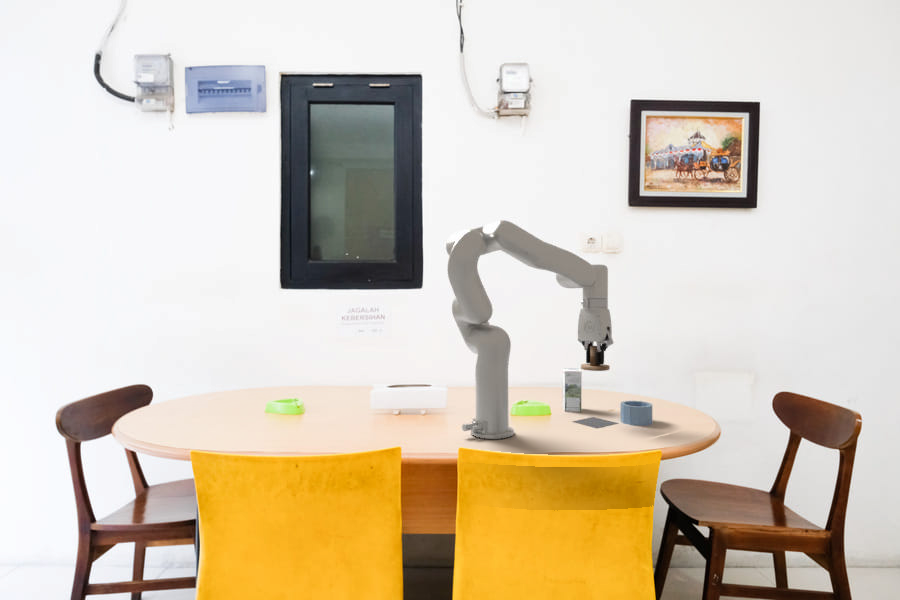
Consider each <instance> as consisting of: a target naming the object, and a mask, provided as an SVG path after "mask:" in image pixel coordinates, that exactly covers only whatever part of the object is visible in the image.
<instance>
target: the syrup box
mask: <svg viewBox="0 0 900 600" xmlns="http://www.w3.org/2000/svg"><path fill="white" fill-rule="evenodd" d="M581 370H582V369H581V368H572V367H571V368H567V367H566V368H565V367H564V368H562V409H563V411H564V412H565V413H569V412H571V413H581V412H582V371H581Z"/></svg>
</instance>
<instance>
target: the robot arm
mask: <svg viewBox="0 0 900 600" xmlns="http://www.w3.org/2000/svg"><path fill="white" fill-rule="evenodd" d="M445 250H446V252H447V255H448V257H449V258H448V262H447V277H448V280H449V283H450V286H451V289H452V291H453V294H454V296H455V298H454V299H453V300H452V304H451V311H452V317H453V319H454V320H455V323H456V326H457V328H458V330H459V332H460V335H461V336H462V338H463V341H464V343H465V345H466V347H467V348H468V349H469V350H470V352H471V353H473V354H475V355H477V358H476V363H475V374H474V375H475V379H474V380H475V418H472V421H471V422H470V423H465V424H464V423H463V424H462V426H461V428H462V431H463V432H467V431H470V435H471V436H473V435H474V436H473V437H475V436H476V438H479V437H480V438H479V439H484V438H485V439H486V440H500V439H501V438H502V439H507V437H508V438H510V436H511V437H512V436H514V434H515V429H514V428H513V427H511V426H509V424H510V423H509V362H510V355H511V349H512V345H511V339H510V336H509V334H508V332H507V331H506V330H505V329H504V328H502V327H501V326H498V325H493V324H490V322H489V321H490V319H492V315H493V311H494V309H493V304H492V303H491V300H490V298H489V296H488V294H487V293H488V292H487V291H486V288H485V287H484V285H483V282H482V281H481V276H480V273H479V270H478V262H479V259H480V256H484V255H486V254H490V253H493V252H496V251H501V252H503V253H506V255H508V256H510V257H512V258H514V259H516V260H517V261H519V262H521V263H522V264H524V265H526V266H528V267H530V268H533V269H537V270H542V271H546V272H547V271H548V272H551V273H555V279H556V282H557V283H558V284H559V286H561V287H563V288H566V289H582V300H581V301H580V304H581V305H582V308H580V311H579V315H578V321H577V323H578V324H577V341H578V342H579V343H580V344H581V345H582V346H583V348H584V351H586V353H585V354H586V355H585V358H586V359H585V360H586V362H585V364H590V346H594V342H596V346H597V352H596V365H600V364H604V363H605V352H606V351H607V349H608V348H609V347H610V346H613V345H614V341H613V338H612V333H613V330H612V327H613V326H612V319H611V312H610V309H609V304H608V303H609V301H608V300H609V297H608V295H609V288H608V287H609V278H608V277H609V268H608V267H607V265H605V264H591V263H590V262H588V261H587V260H585V259H584V258H582V257H580V256H579V255H576V253H573V252H570V251H569V250H566V249H564V248H562V247H558V246H556V245H553V244H551V243H549V242H546V241H545V240H542V239H540V238H539V237H537V236H535V235H533V234H532V233H530V232H528V231H527V230H525V229H523V228H522V227H520V226H519V225H517V224H515V223H513V222H511V221H508V220H503V219H502V220H498V221H495V222H491V223H489V224H486V225H484V226H480V227H477V228H476V227H475V228H470V229H469V228H468V229H463V230H461V231H459V232H455V233H453V234H452V235H450V236H449V238H448V239H447V241H446V245H445Z"/></svg>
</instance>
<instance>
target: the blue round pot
mask: <svg viewBox="0 0 900 600" xmlns="http://www.w3.org/2000/svg"><path fill="white" fill-rule="evenodd" d="M620 422H621V423H623V424H625V425H629V426H638V427H642V426H643V427H644V426H651V425H653V403H651V402H648V401H642V400H640V401H639V400H624V401H621V402H620Z"/></svg>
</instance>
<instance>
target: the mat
mask: <svg viewBox="0 0 900 600" xmlns="http://www.w3.org/2000/svg"><path fill="white" fill-rule="evenodd" d="M571 422H572V423H574V424H580V425H582V426H586V427H591V428H593V429H600V428H605V427H609V426H614V425H618V424H619V422H616V421H612V420H607V419H602V418H598V417H595V416H590V417H587V418H582V419H578V420H573V421H571Z"/></svg>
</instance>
